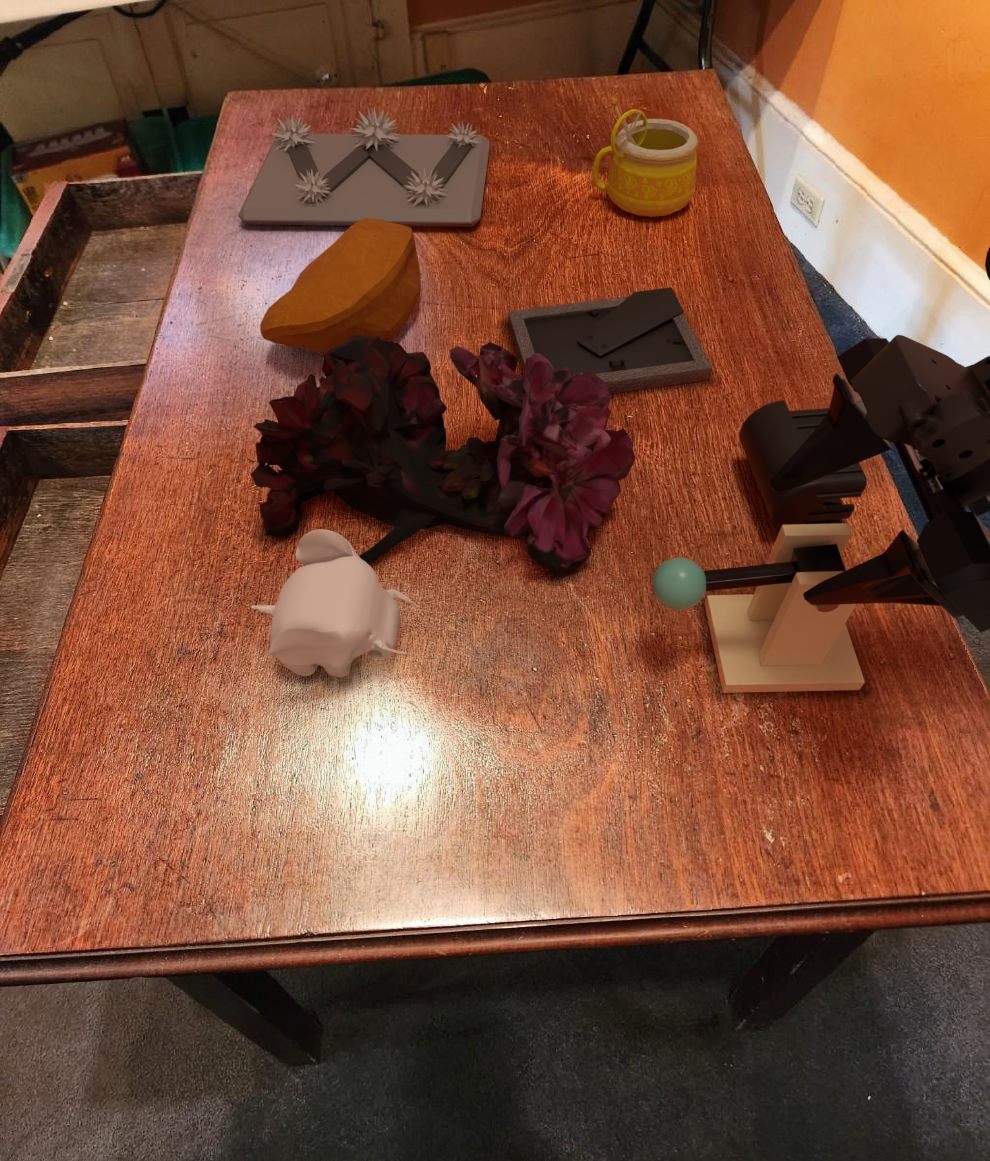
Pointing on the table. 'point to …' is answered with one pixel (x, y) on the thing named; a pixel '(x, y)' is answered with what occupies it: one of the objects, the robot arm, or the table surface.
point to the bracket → (785, 627)
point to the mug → (649, 165)
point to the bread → (350, 290)
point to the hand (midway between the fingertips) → (788, 540)
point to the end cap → (772, 445)
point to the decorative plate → (369, 177)
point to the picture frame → (615, 340)
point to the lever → (736, 575)
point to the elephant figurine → (332, 609)
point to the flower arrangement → (447, 477)
